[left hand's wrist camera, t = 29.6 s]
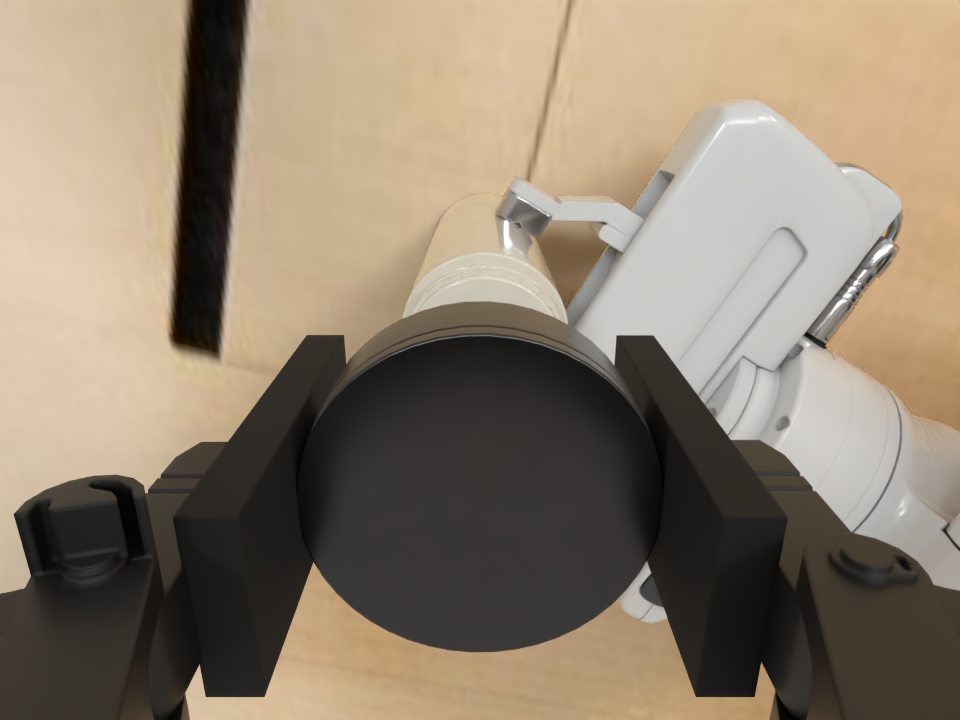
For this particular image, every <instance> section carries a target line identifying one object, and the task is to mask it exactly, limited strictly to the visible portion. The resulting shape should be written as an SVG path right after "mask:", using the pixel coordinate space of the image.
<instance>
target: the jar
mask: <svg viewBox="0 0 960 720" xmlns="http://www.w3.org/2000/svg"><path fill="white" fill-rule="evenodd" d="M501 199H502V197H501V196H498V195H493V194H474V195H471V196H467V197H465V198H462V199H460V200H459V201H457V202H455V203H454V204H453V205H452V206H450V207H449V208H448V209H447V210H446V212H445V213H444V214H443V216H442V217H441V219H440V221H439V222H438V225H437V227H436V230H435V233H434V235H433V238H432V240H431V243H430V245H429V248H428V250H427V253H426V255H425V258H424V260H423V263H422V265H421V268H420V270H419V273H418V275H417V278H416V280H415V283H414V285H413V288H412V290H411V293H410V295H409V298H408V300H407V303H406V305H405V308H404V312H403V316H402V319H403V318H406V317H408V316H410V315H413V314H415V313H417V312H420V311H423V310H426V309H430V308H434V307H437V306H441V305H446V304H453V303H460V302H476V301H490V302H499V303H508V304H514V305H518V306H522V307H527V308H531V309H534V310H537V311H539V312H542V313H545V314H547V315H550V316H552V317H555V318H557V319H559V320H560V321H562V322H564V323H566V324H568V319H567V315H566V310H565V307H564V305H563V302H562V299H561V297H560V295H559V292H558V290H557V287H556V285H555V283H554V280H553V278H552V275H551V273H550V270H549V268H548V266H547V263H546V261H545V258H544V256H543V254H542V251H541V249H540V246H539V244H538V241H537V239H536V238H535V237H534V236H532V235H530V234H529V233H527V232H526V231H524V230H523V229H522V227H521V225H520V223H512V222H509V221H507V220H505V219H504V218H502V217H501V216H500V215H498V214H497V213H496V208H497V206H498V204H499V202H500V201H501Z"/></svg>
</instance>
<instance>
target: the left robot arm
mask: <svg viewBox="0 0 960 720" xmlns="http://www.w3.org/2000/svg"><path fill="white" fill-rule="evenodd" d="M345 366H346V357H345V344H344V335H307V336H306V337H305V339H304V340H303V341H302V343H301V344H300V345H299V347H298V348H297V349H296V351H295V352H294V354H293V355H292V356H291V358H290V359H289V360H288V362H287V363H286V364H285V366H284V367H283V368H282V370H281V371H280V372H279V374H278V375H277V376H276V378H275V379H274V381H273V382H272V383H271V385H270V386H269V387H268V389H267V390H266V391H265V393H264V394H263V395H262V397H261V398H260V399H259V401H258V402H257V403H256V405H255V406H254V408H253V409H252V410H251V412H250V413H249V414H248V416H247V417H246V418H245V420H244V421H243V422H242V424H241V425H240V426H239V428H238V429H237V431H236V432H235V433H234V435H233V436H232V437H231V439H230V440H229V441H228V442H201V443H199V444H197V445H196V446H194V447H192V448H191V449H189V450H187V451H186V452H184V453H182V454H181V455H179V456H177V457H176V458H175V459H174V460H173V461H172V462H171V464H170V465H169V466H168V467H167V468H166V469H165V471H164V472H163V473H162V474H161V478H158V479H157V480H156V481H155V482H154V483H153V485H152V486H151V487H150V488H149V489H148V493H145V490H144V485H142V484H141V483H139V482H138V481H137V480H135V479H134V478H130V477H124V476H119V475H103V476H91V477H86V478H82V479H77V480H72V481H68V482H66V483H63V484H60V485H57V486H55V487H52V488H49V489H47V490H45V491H43V492H41V493H40V494H38V495H36V496H34V497H33V498H31V499H29V500H28V501H26V502H25V503H24V504H23V505H22V506H21V507H20V508H19V509H18V510H17V511H16V512H15V513H14V517H15V520H16V524H17V527H18V531H19V535H20V538H21V542H22V545H23V549H24V552H25V556H26V559H27V563H28V566H29V570H30V574H31V577H30V580H29V582H28V584H27V586H26V588H24V589H20V590H16V591H12V592H7V593H2V594H0V720H190V718H189V711H188V705H187V700H186V695H185V692H186V690H187V688H188V686H189V684H190V682H191V680H192V678H193V676H194V674H195V672H196V670H197V668H198V666H199V664H200V668H201V673H202V679H203V684H204V689H205V695H206V697H265V694H266V691H267V688H268V686H269V683H270V680H271V677H272V675H273V672H274V669H275V666H276V664H277V661H278V658H279V655H280V652H281V650H282V647H283V644H284V641H285V639H286V636H287V633H288V630H289V628H290V625H291V622H292V619H293V617H294V614H295V611H296V608H297V606H298V603H299V600H300V597H301V594H302V592H303V589H304V586H305V583H306V581H307V578H308V575H309V572H310V570H311V567H312V564H313V560H312V558H311V555H310V553H309V551H308V549H307V547H306V544H305V542H304V539H303V536H302V532H301V527H300V520H299V511H298V502H297V491H296V475H297V469H298V464H299V458H300V455H301V452H302V449H303V446H304V443H305V440H306V437H307V435H308V433H309V431H310V429H311V427H312V426H313V424H314V422H315V420H316V418H317V416H318V414H319V412H320V410H321V408H322V406H323V404H324V402H325V400H326V398H327V397H328V395H329V393H330V391H331V389H332V387H333V385H334V383H335V381H336V379H337V377H338V375H339V374H340V373H341V371H342V370H343V369H344V367H345ZM614 366H615V367H616V368H617V370H618V371H619V373H620V374H621V376H622V378H623V380H624V381H625V383H626V385H627V387H628V388H629V390H630V392H631V394H632V396H633V398H634V400H635V402H636V404H637V406H638V408H639V410H640V411H641V413H642V415H643V417H644V419H645V421H646V423H647V425H648V427H649V429H650V431H651V433H652V436H653V438H654V441H655V443H656V446H657V449H658V451H659V455H660V460H661V464H662V469H663V474H664V496H663V505H662V514H661V523H660V528H659V533H658V536H657V539H656V541H655V544H654V546H653V549H652V551H651V554H650V556H649V558H648V559H647V563H648V566H649V568H650V571H651V574H652V577H653V580H654V582H655V585H656V588H657V591H658V593H659V596H660V599H661V602H662V604H663V607H664V610H665V613H666V615H667V618H668V621H669V624H670V626H671V629H672V632H673V635H674V638H675V640H676V643H677V646H678V649H679V651H680V654H681V657H682V660H683V662H684V665H685V668H686V671H687V673H688V676H689V679H690V682H691V684H692V687H693V690H694V693H695V696H696V697H755V692H756V686H757V681H758V676H759V670H760V665H761V662H762V664H763V666H764V668H765V670H766V672H767V674H768V676H769V678H770V680H771V682H772V684H773V686H774V688H775V695H774V700H773V705H772V710H771V715H770V720H960V591H959V590H954V589H949V588H944V587H941V586H937V585H934V584H933V582H932V580H931V578H930V576H929V575H928V573H927V572H926V571H925V570H924V568H923V567H922V566H921V565H920V564H919V562H918V561H917V560H915V559H914V558H912V557H911V556H909V555H908V554H906V553H905V552H904V551H902V550H901V549H899V548H897V547H895V546H892V545H890V544H888V543H885V542H883V541H881V540H879V539H876V538H872V537H868V536H864V535H860V534H855V533H852V532H851V531H850V530H849V529H848V528H847V526H846V525H845V524H844V523H843V522H842V521H841V519H840V518H839V517H838V516H837V515H836V514H835V512H834V511H833V510H832V509H831V508H830V507H829V505H828V504H827V503H826V502H825V501H824V500H823V499H822V497H821V496H820V495H819V494H818V493H817V492H816V491H813V487H812V486H811V485H810V483H809V482H808V481H807V480H806V479H805V478H804V476H800V472H799V471H798V470H797V468H796V467H795V466H794V465H793V464H792V463H791V461H790V460H789V459H788V458H787V457H786V456H785V455H784V454H783V453H781V452H779V451H777V450H776V449H774V448H772V447H771V446H769V445H767V444H766V443H764V442H762V441H761V440H731V439H730V438H729V437H728V435H727V434H726V433H725V431H724V430H723V429H722V427H721V426H720V424H719V423H718V422H717V420H716V419H715V418H714V416H713V415H712V414H711V412H710V411H709V410H708V408H707V407H706V406H705V404H704V403H703V402H702V400H701V399H700V397H699V396H698V395H697V393H696V392H695V391H694V389H693V388H692V387H691V385H690V384H689V383H688V381H687V380H686V379H685V377H684V376H683V375H682V373H681V372H680V370H679V369H678V368H677V366H676V365H675V364H674V362H673V361H672V360H671V358H670V357H669V356H668V354H667V353H666V352H665V350H664V349H663V348H662V346H661V345H660V343H659V342H658V341H657V339H656V338H655V337H654V335H617V336H616V349H615V363H614Z"/></svg>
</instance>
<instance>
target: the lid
mask: <svg viewBox="0 0 960 720" xmlns="http://www.w3.org/2000/svg"><path fill="white" fill-rule="evenodd" d="M296 491H297V502H298V511H299V520H300V527H301V532H302V536H303V539H304V542H305V544H306V547H307V549H308V551H309V553H310V555H311V558H312V560H313V562H314V563H315V565H316V566H317V568H318V570H319V571H320V573H321V574H322V576H323V578H324V579H325V580H326V581H327V582H328V584H329V585H330V586H331V587H332V588H333V590H334V591H335V592H336V593H337V594H338V595H339V596H340V597H341V598H342V599H343V600H344V601H345V602H346V603H347V604H348V605H350V606H351V607H352V608H353V609H354V610H356V611H357V612H358V613H360V614H361V615H362V616H364V617H365V618H366V619H368V620H369V621H371V622H373V623H374V624H376V625H378V626H380V627H381V628H383V629H385V630H387V631H389V632H391V633H393V634H396V635H398V636H400V637H403V638H405V639H407V640H410V641H414V642H417V643H420V644H423V645H427V646H431V647H436V648H441V649H446V650H452V651H463V652H498V651H506V650H515V649H520V648H524V647H529V646H533V645H537V644H540V643H543V642H546V641H549V640H552V639H555V638H558V637H560V636H562V635H564V634H566V633H569V632H571V631H573V630H575V629H577V628H579V627H580V626H582V625H584V624H585V623H587V622H589V621H590V620H592V619H594V618H595V617H597V616H598V615H599V614H600V613H602V612H603V611H604V610H605V609H607V608H608V607H609V606H611V605H612V604H613V603H614V602H615V601H616V600H617V599H618V598H619V597H620V596H621V595H622V594H623V593H624V592H625V591H626V590H627V589H628V587H629V586H630V585H631V584H632V582H633V581H634V580H635V578H636V577H637V576H638V574H639V573H640V571H641V570H642V568H643V566H644V565H645V563H646V561H647V559H648V558H649V556H650V554H651V551H652V549H653V546H654V544H655V541H656V539H657V536H658V533H659V528H660V523H661V514H662V505H663V496H664V474H663V469H662V464H661V460H660V455H659V451H658V449H657V446H656V443H655V441H654V438H653V436H652V433H651V431H650V429H649V427H648V425H647V423H646V421H645V419H644V417H643V415H642V413H641V411H640V410H639V408H638V406H637V404H636V402H635V400H634V398H633V396H632V394H631V392H630V390H629V388H628V387H627V385H626V383H625V381H624V380H623V378H622V376H621V374H620V373H619V371H618V370H617V368H616V367H615V366H614V364H613V363H612V362H611V361H610V359H609V358H608V357H607V355H606V354H605V353H604V352H602V351H601V350H600V349H599V348H598V347H597V346H596V345H595V344H594V343H593V342H592V341H591V340H590V339H588V338H587V337H586V336H584V335H583V334H582V333H580V332H579V331H577V330H576V329H575V328H573V327H571V326H570V325H568V324H566V323H564V322H562V321H560V320H559V319H557V318H555V317H552V316H550V315H547V314H545V313H542V312H539V311H537V310H534V309H531V308H527V307H522V306H518V305H514V304H508V303H499V302H490V301H476V302H460V303H453V304H446V305H441V306H437V307H434V308H430V309H426V310H423V311H420V312H417V313H415V314H413V315H410V316H408V317H406V318H403V319H401V320H399V321H397V322H396V323H394V324H392V325H391V326H389V327H387V328H385V329H384V330H382V331H381V332H379V333H378V334H377V335H376V336H374V337H373V338H372V339H371V340H369V341H368V342H367V343H365V344H364V345H363V346H362V347H361V348H360V350H359V351H358V352H357V353H356V354H355V355H354V356H353V357H352V358H351V359H350V360H349V362H348V363H347V364H346V366H345V367H344V369H343V370H342V371H341V373H340V374H339V375H338V377H337V379H336V381H335V383H334V385H333V387H332V389H331V391H330V393H329V395H328V397H327V398H326V400H325V402H324V404H323V406H322V408H321V410H320V412H319V414H318V416H317V418H316V420H315V422H314V424H313V426H312V427H311V429H310V431H309V433H308V435H307V437H306V440H305V443H304V446H303V449H302V452H301V455H300V458H299V464H298V469H297V475H296Z"/></svg>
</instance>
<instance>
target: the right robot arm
mask: <svg viewBox="0 0 960 720" xmlns="http://www.w3.org/2000/svg"><path fill="white" fill-rule="evenodd" d="M496 213H497V214H498V215H500V216H501V217H502V218H504V219H505V220H507V221H509V222H512V223H520V225H521V227H522V229H523V230H524V231H526V232H527V233H529V234H530V235H532V236H534V237H535V238H537V239H538V238H539V236H540V235H541V233H542V232H543V230H544V229H545V227H546V225H547V224H548V222H549V221H550V219H551V221H586V222H591V223H590V229H591V230H592V231H593V232H594V233H595V234H596V235H597V236H598V238H600V239H601V240H603V241H604V242H606V243H607V244H608V246H607V247H606V249H605V250H604V252H603V253H602V255H601V257H600V258H599V260H598V261H597V263H596V264H595V266H594V267H593V269H592V270H591V272H590V273H589V275H588V276H587V278H586V279H585V281H584V282H583V284H582V285H581V287H580V288H579V290H578V292H577V293H576V295H575V296H574V298H573V299H572V301H571V302H570V304H569V305H568V307H567V308H566V315H567V319H568V325H570V326H571V327H573V328H575V329H576V330H577V331H579V332H580V333H582V334H583V335H584V336H586V337H587V338H588V339H590V340H591V341H592V342H593V343H594V344H595V345H596V346H597V347H598V348H599V349H600V350H601V351H602V352H604V353H605V354H606V355H607V357H608V358H609V359H610V361H611V362H612V363H613V364H614V363H615V349H616V336H617V335H654V337H655V338H656V339H657V341H658V342H659V343H660V345H661V346H662V348H663V349H664V350H665V352H666V353H667V354H668V356H669V357H670V358H671V360H672V361H673V362H674V364H675V365H676V366H677V368H678V369H679V370H680V372H681V373H682V375H683V376H684V377H685V379H686V380H687V381H688V383H689V384H690V385H691V387H692V388H693V389H694V391H695V392H696V393H697V395H698V396H699V397H700V399H701V400H702V402H703V403H704V404H705V406H706V407H707V408H708V410H709V411H710V412H711V414H712V415H713V416H714V418H715V419H716V420H717V422H718V423H719V424H720V426H721V427H722V429H723V430H724V431H725V433H726V434H727V435H728V437H729V438H730V439H731V440H761V441H762V442H764V443H766V444H767V445H769V446H771V447H772V448H774V449H776V450H777V451H779V452H781V453H783V454H784V455H785V456H786V457H787V458H788V459H789V460H790V461H791V463H792V464H793V465H794V466H795V467H796V468H797V470H798V471H799V472H800V476H804V478H805V479H806V480H807V481H808V482H809V483H810V485H811V486H812V487H813V491H816V492H817V493H818V494H819V495H820V496H821V497H822V499H823V500H824V501H825V502H826V503H827V504H828V505H829V507H830V508H831V509H832V510H833V511H834V512H835V514H836V515H837V516H838V517H839V518H840V519H841V521H842V522H843V523H844V524H845V525H846V526H847V528H848V529H849V530H850V531H851V532H852V533H855V534H860V535H864V536H868V537H872V538H876V539H879V540H881V541H883V542H885V543H888V544H890V545H892V546H895V547H897V548H899V549H901V550H902V551H904V552H905V553H906V554H908V555H909V556H911V557H912V558H914V559H915V560H917V561H918V562H919V564H920V565H921V566H922V567H923V568H924V570H925V571H926V572H927V573H928V575H929V576H930V578H931V580H932V582H933V584H934V585H937V586H941V587H944V588H949V589H954V590H959V591H960V431H958V430H956V429H954V428H952V427H950V426H948V425H946V424H943V423H941V422H938V421H934V420H931V419H927V418H922V417H918V416H915V415H914V414H912V413H911V412H910V411H909V410H908V409H907V408H906V407H905V405H904V404H903V403H902V401H901V400H900V399H899V398H898V397H897V396H896V394H894V393H893V392H892V391H891V390H890V389H889V388H888V387H886V386H885V385H884V384H882V383H881V382H879V381H878V380H876V379H875V378H873V377H871V376H870V375H868V374H866V373H865V372H863V371H862V370H860V369H859V368H857V367H855V366H854V365H852V364H850V363H849V362H847V361H846V360H844V359H842V358H841V357H839V356H838V355H836V354H834V353H833V352H831V351H829V350H828V349H826V348H827V347H826V346H825V345H826V344H827V343H828V342H829V340H830V339H831V338H832V337H833V335H834V334H835V333H836V332H837V330H838V329H839V328H840V327H841V325H842V324H843V323H844V322H845V321H846V319H847V318H848V317H849V315H850V314H851V313H852V311H853V310H854V308H855V305H857V304H858V302H859V299H861V297H862V296H863V293H865V291H866V290H867V289H868V288H867V287H869V286H870V285H871V284H872V283H873V281H874V280H875V279H876V278H879V277H880V276H881V275H882V274H883V273H884V272H885V271H886V270H887V269H888V267H889V266H890V265H891V263H892V262H893V260H894V258H895V257H896V255H897V253H898V251H899V246H898V245H897V244H895V243H894V242H895V241H896V239H897V237H898V234H899V232H900V229H901V225H902V217H903V216H902V202H901V200H900V198H899V197H898V195H897V194H896V193H895V192H894V191H893V189H892V188H891V187H890V186H888V185H887V184H885V183H884V182H883V181H881V180H880V179H878V178H877V177H875V176H874V175H872V174H871V173H869V172H868V171H867V170H865V169H864V168H862V167H860V166H857V165H855V164H850V163H834V162H833V161H832V160H831V159H830V158H829V157H828V156H827V155H826V154H825V153H824V152H823V151H822V150H821V149H820V148H819V147H818V146H816V145H815V144H814V143H813V142H812V141H811V140H810V139H809V138H808V137H806V136H805V135H804V134H803V133H802V132H801V131H799V130H798V129H797V128H796V127H795V126H794V125H792V124H791V123H790V122H789V121H787V120H786V119H785V118H784V117H782V116H781V115H780V114H778V113H777V112H776V111H774V110H773V109H772V108H770V107H769V106H767V105H765V104H764V103H762V102H759V101H756V100H752V99H746V98H737V99H729V100H723V101H719V102H715V103H711V104H707V105H704V106H702V107H701V108H699V109H698V110H697V111H696V112H695V114H694V115H693V117H692V118H691V120H690V121H689V123H688V124H687V126H686V127H685V129H684V130H683V132H682V133H681V135H680V136H679V138H678V139H677V141H676V142H675V144H674V146H673V147H672V149H671V150H670V152H669V153H668V155H667V156H666V158H665V159H664V161H663V162H662V164H661V165H660V167H659V168H658V170H657V171H656V173H655V174H654V176H653V177H652V179H651V180H650V182H649V184H648V185H647V187H646V188H645V190H644V191H643V193H642V194H641V196H640V197H639V199H638V200H637V202H636V203H635V205H634V206H633V208H632V209H631V210H629V209H628V208H626V207H624V206H623V205H621V204H619V203H618V202H616V201H615V200H613V199H611V198H610V197H608V196H556V198H554V197H552V196H550V195H549V194H547V193H546V192H544V191H542V190H541V189H539V188H537V187H536V186H534V185H533V184H531V183H529V182H528V181H526V180H524V179H523V178H521V177H519V176H517V175H515V176H514V178H513V180H512V182H511V183H510V185H509V187H508V188H507V190H506V192H505V194H504V195H503V197H502V199H501V201H500V202H499V204H498V206H497V208H496ZM887 228H888V230H887V232H886V234H885V236H884V237H883V236H881V235H882V234H883V233H884V231H885V230H886V229H887ZM617 600H618V602H619V604H620V606H621V608H622V609H623V611H624V612H626V613H627V614H628V615H630V616H631V617H633V618H635V619H637V620H639V621H642V622H644V623H650V624H652V623H658V622H661V621H663V620H665V619H667V615H666V613H665V610H664V607H663V604H662V602H661V599H660V596H659V593H658V591H657V588H656V585H655V582H654V580H653V577H652V574H651V571H650V568H649V566H648V563H647V561H646V563H645V565H644V566H643V568H642V570H641V571H640V573H639V574H638V576H637V577H636V578H635V580H634V581H633V582H632V584H631V585H630V586H629V587H628V589H627V590H626V591H625V592H624V593H623V594H622V595H621V596H620V597H619V598H618V599H617Z"/></svg>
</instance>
